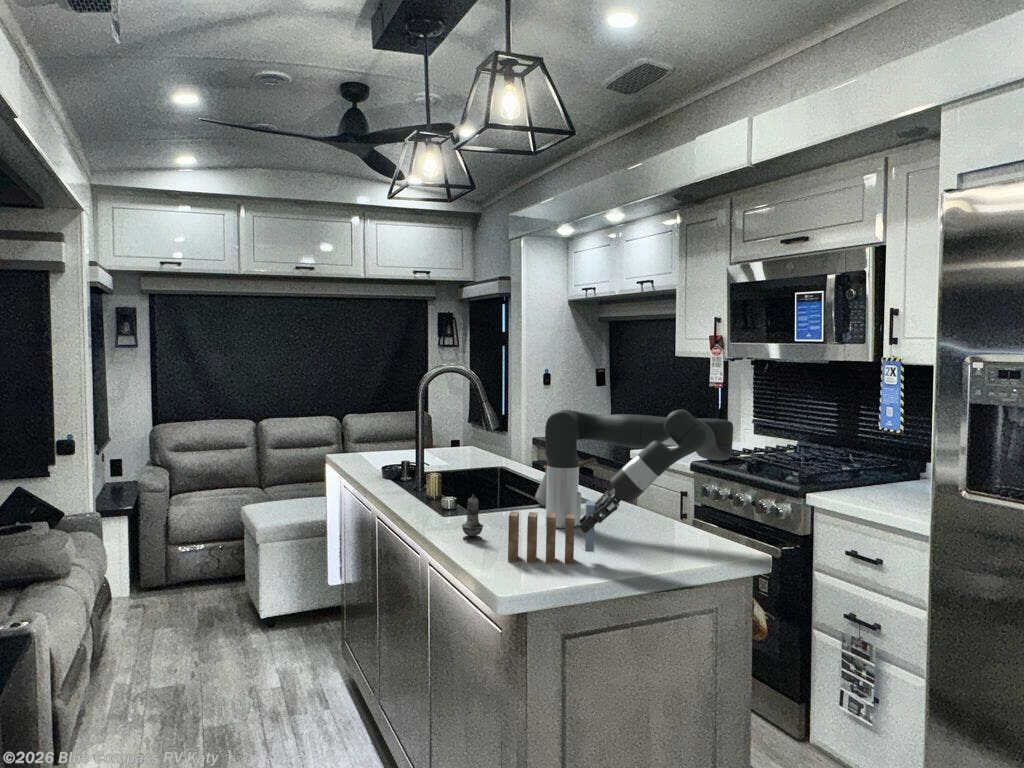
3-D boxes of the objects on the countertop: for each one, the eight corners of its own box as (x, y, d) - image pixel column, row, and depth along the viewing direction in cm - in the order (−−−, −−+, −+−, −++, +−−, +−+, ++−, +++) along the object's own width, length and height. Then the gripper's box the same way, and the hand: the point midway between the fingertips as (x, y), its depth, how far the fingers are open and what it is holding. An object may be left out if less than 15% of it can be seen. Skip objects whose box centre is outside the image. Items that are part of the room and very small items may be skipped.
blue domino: (593, 546, 179) (594, 501, 179) (593, 551, 174) (594, 505, 174) (585, 545, 179) (586, 500, 179) (585, 551, 174) (586, 505, 174)
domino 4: (573, 558, 180) (574, 514, 180) (573, 564, 175) (574, 518, 175) (565, 558, 180) (566, 513, 180) (564, 564, 175) (565, 518, 175)
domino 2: (536, 557, 181) (537, 512, 180) (535, 562, 176) (536, 517, 176) (528, 556, 181) (529, 512, 181) (526, 562, 176) (527, 516, 176)
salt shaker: (461, 536, 200) (461, 491, 199) (482, 536, 200) (483, 491, 200) (461, 541, 194) (462, 496, 193) (483, 541, 195) (484, 496, 194)
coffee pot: (543, 510, 235) (545, 462, 234) (529, 502, 245) (530, 457, 244) (603, 506, 243) (604, 460, 242) (586, 499, 253) (587, 455, 253)
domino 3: (555, 558, 181) (556, 513, 180) (554, 563, 176) (555, 517, 175) (546, 557, 181) (547, 512, 180) (545, 563, 176) (546, 517, 175)
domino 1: (518, 556, 181) (519, 511, 181) (516, 561, 176) (517, 516, 176) (510, 555, 182) (510, 511, 181) (507, 561, 177) (508, 515, 176)
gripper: (647, 496, 168) (593, 546, 170) (642, 484, 182) (592, 531, 184) (624, 472, 168) (570, 522, 170) (621, 462, 182) (571, 509, 184)
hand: (582, 527), depth 177 cm, fingers closed on blue domino, 5 cm apart
